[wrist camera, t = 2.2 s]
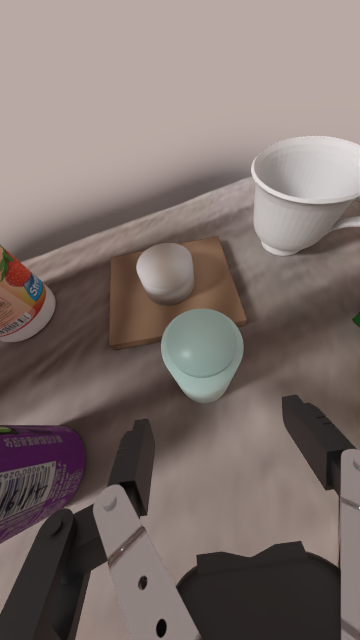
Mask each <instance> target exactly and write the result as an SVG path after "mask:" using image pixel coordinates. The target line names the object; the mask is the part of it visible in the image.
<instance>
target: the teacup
mask: <svg viewBox="0 0 360 640" xmlns="http://www.w3.org/2000/svg"><path fill="white" fill-rule="evenodd" d="M251 173H252V176H253V178H254V180H255V181H256V192H255V203H254V228H255V231H256V234H257V235H258V237H259V238H260V239H261V243H262V245H263V247H264V248H265V249H266V250H267V251H268V252H270V253H272V254H275V255H279V256H289V255H293V254H296V253H297V252H299V251H300V250H301V249H305V248H307V247H310V246H312V245H314V244H315V243H317V242H318V241H319V240H320V239H322V238H323V237H324V236H325V235H326V234H328V233H330V232H332V231H334V230H337V229H340V228H345V227H360V216H355V217H348V218H345V219H342V220H339V221H338V219H339V218H340V217H341V216H342V214H343V213H344V212H345V211H346V209H347V208H348V207H349V206H350V205H351V203H352V202H353V201H354V200H356V201H359V202H360V145H358V144H355V143H353V142H350V141H347V140H343V139H339V138H334V137H325V136H304V137H296V138H291V139H287V140H283V141H280V142H277V143H274V144H272V145H270V146H269V147H267V148H266V149H264V150H263V151H262V152H261V153H260V154H259V155H258V156H257V157H256V158H255V159H254V161H253V163H252V167H251Z"/></svg>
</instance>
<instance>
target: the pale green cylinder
mask: <svg viewBox="0 0 360 640" xmlns="http://www.w3.org/2000/svg"><path fill="white" fill-rule="evenodd" d="M243 349H244V346H243V339H242V336H241V333H240V331H239V329H238V327H237V326H236V325H235V323H234V322H233V321H232V320H231V319H230V318H228V317H227V316H225V315H224V314H222V313H220V312H218V311H215V310H211V309H193V310H189V311H186V312H184V313H182V314H180V315H179V316H177V317H176V318H175V319H173V320H172V321H171V322H170V324H169V325H168V326H167V328H166V330H165V331H164V334H163V336H162V341H161V354H162V358H163V361H164V363H165V365H166V367H167V368H168V370H169V371H170V373H171V374H172V376H173V377H174V379H175V380H176V382H177V383H178V385H179V386H180V388H181V389H182V391H183V392H184V393H185V395H186V396H187V397H188V398H190V399H191V400H193V401H195V402H198V403H211V402H214V401H216V400H218V399H219V398H220V397H221V396H222V395H223V394H224V393H225V391H226V389H227V387H228V386H229V384H230V382H231V380H232V378H233V376H234V374H235V372H236V370H237V368H238V366H239V364H240V362H241V360H242V356H243Z"/></svg>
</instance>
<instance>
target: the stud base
mask: <svg viewBox="0 0 360 640" xmlns="http://www.w3.org/2000/svg"><path fill="white" fill-rule="evenodd" d="M193 309H211V310H215V311H218V312H220V313H222V314H224V315H225V316H227V317H228V318H230V319H231V320H232V321H233V322H234V323H235V325H236V326H237V327H242V326H245V324H246V321H247V319H246V316H245V313H244V310H243V307H242V304H241V301H240V299H239V296H238V293H237V290H236V287H235V284H234V281H233V278H232V275H231V272H230V269H229V266H228V264H227V261H226V258H225V255H224V252H223V249H222V246H221V243H220V240H219V237H218V236H216V237H211V238H206V239H201V240H196V241H191V242H186V243H181V244H176V243H161V244H157V245H154V246H152V247H150V248H148V249H147V250H146V251H141V252H136V253H131V254H126V255H121V256H116V257H111V275H110V328H109V346H110V347H112V348H113V349H114V350H116V349H122V348H127V347H133V346H138V345H143V344H149V343H154V342H160V341H162V336H163V334H164V331H165V330H166V328H167V326H168V325H169V324H170V322H171V321H172V320H173V319H175V318H176V317H177V316H179V315H180V314H182V313H184V312H186V311H189V310H193Z"/></svg>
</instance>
